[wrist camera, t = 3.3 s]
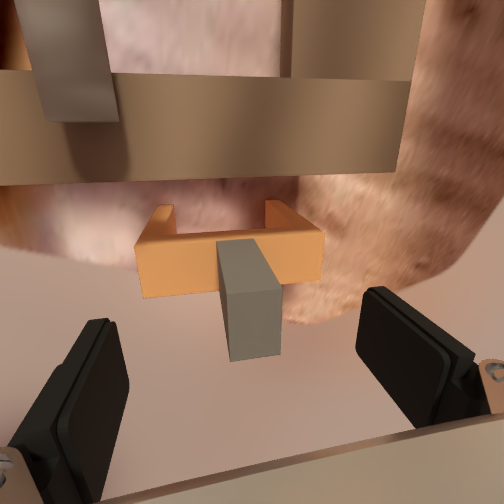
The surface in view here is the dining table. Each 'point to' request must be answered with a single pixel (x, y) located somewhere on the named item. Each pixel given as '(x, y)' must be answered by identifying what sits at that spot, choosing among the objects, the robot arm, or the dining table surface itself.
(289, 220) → the orange u-shaped bracket
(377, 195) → the dining table surface
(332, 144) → the tan open frame
